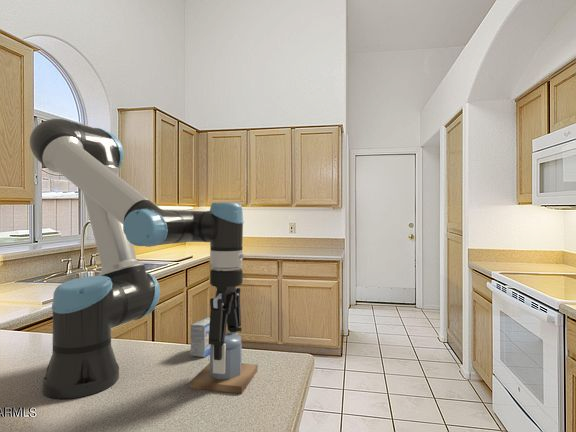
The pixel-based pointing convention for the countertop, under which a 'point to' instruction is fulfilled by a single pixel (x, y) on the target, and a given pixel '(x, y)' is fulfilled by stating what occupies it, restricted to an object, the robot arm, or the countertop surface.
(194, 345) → the medicine box
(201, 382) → the brown wooden square board
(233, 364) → the cap
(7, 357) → the countertop surface
